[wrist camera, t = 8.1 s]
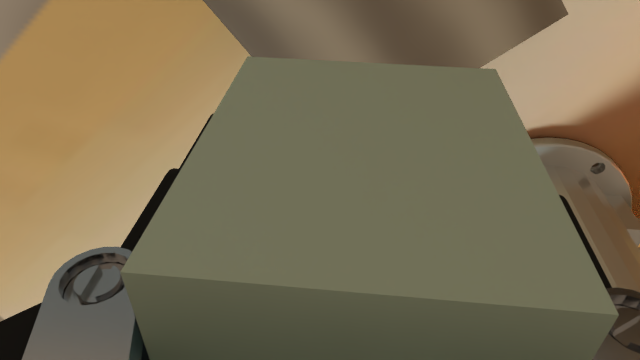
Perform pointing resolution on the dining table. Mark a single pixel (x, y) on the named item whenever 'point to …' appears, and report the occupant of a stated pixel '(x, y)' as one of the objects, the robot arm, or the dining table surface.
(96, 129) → the dining table surface
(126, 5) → the dining table surface
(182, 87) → the dining table surface
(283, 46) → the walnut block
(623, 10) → the dining table surface
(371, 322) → the sage block
